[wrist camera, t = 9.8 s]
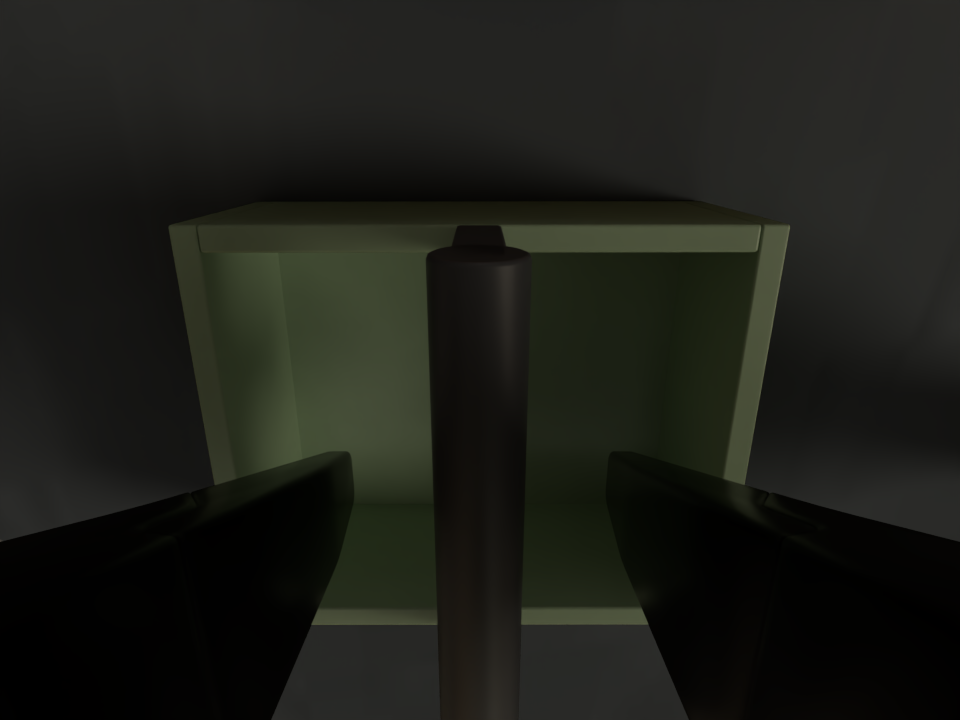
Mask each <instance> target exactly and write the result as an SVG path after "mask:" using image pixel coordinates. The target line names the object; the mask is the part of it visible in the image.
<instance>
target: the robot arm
mask: <svg viewBox="0 0 960 720" xmlns="http://www.w3.org/2000/svg"><path fill="white" fill-rule="evenodd" d="M353 503H354V480H353V468H352V458H351V455H350V453H349V452H348V451H328V452H325V453H322V454H318V455H315V456H311V457H308V458H305V459H301V460H298V461H295V462H291V463H288V464H284V465H281V466H278V467H274V468H271V469H268V470H264V471H261V472H258V473H254V474H251V475H247V476H244V477H241V478H237V479H234V480H231V481H227V482H224V483H220V484H217V485H214V486H210V487H207V488H204V489H200V490H197V491H194V492H192V493H191V494H190V493H184V494H181V495H177V496H174V497H170V498H167V499H163V500H160V501H156V502H153V503H149V504H146V505H142V506H138V507H135V508H131V509H127V510H123V511H120V512H116V513H112V514H108V515H105V516H101V517H97V518H93V519H89V520H85V521H81V522H77V523H73V524H69V525H65V526H61V527H57V528H53V529H49V530H45V531H41V532H37V533H34V534H30V535H26V536H22V537H18V538H14V539H10V540H6V541H2V542H0V720H271V719H272V716H273V714H274V712H275V709H276V707H277V705H278V702H279V700H280V697H281V695H282V693H283V690H284V688H285V686H286V683H287V681H288V679H289V676H290V674H291V672H292V669H293V667H294V665H295V662H296V660H297V657H298V655H299V653H300V650H301V648H302V646H303V643H304V641H305V639H306V636H307V634H308V632H309V629H310V627H311V624H312V622H313V620H314V617H315V615H316V613H317V610H318V608H319V606H320V603H321V601H322V599H323V596H324V594H325V592H326V589H327V587H328V584H329V582H330V580H331V577H332V575H333V573H334V570H335V568H336V565H337V563H338V560H339V557H340V553H341V550H342V546H343V542H344V538H345V535H346V531H347V527H348V523H349V519H350V515H351V511H352V507H353ZM606 503H607V507H608V511H609V515H610V519H611V523H612V527H613V531H614V534H615V538H616V542H617V546H618V550H619V553H620V557H621V560H622V563H623V565H624V568H625V570H626V573H627V575H628V577H629V580H630V582H631V584H632V587H633V589H634V591H635V594H636V596H637V599H638V601H639V603H640V606H641V608H642V610H643V613H644V615H645V617H646V620H647V622H648V624H649V627H650V629H651V631H652V634H653V636H654V639H655V641H656V643H657V646H658V648H659V650H660V653H661V655H662V657H663V660H664V662H665V664H666V667H667V669H668V671H669V674H670V676H671V679H672V681H673V683H674V686H675V688H676V690H677V693H678V695H679V697H680V700H681V702H682V704H683V707H684V709H685V712H686V714H687V716H688V719H689V720H960V542H958V541H954V540H950V539H946V538H942V537H938V536H934V535H930V534H927V533H923V532H919V531H915V530H911V529H907V528H903V527H899V526H895V525H891V524H887V523H883V522H879V521H875V520H871V519H867V518H863V517H859V516H856V515H852V514H848V513H844V512H840V511H837V510H833V509H829V508H825V507H822V506H818V505H814V504H811V503H807V502H804V501H800V500H797V499H793V498H790V497H786V496H783V495H779V494H776V493H770V494H769V493H768V492H766V491H763V490H760V489H756V488H753V487H750V486H746V485H743V484H740V483H736V482H733V481H729V480H726V479H723V478H719V477H716V476H713V475H709V474H706V473H702V472H699V471H696V470H692V469H689V468H686V467H682V466H679V465H676V464H672V463H669V462H665V461H662V460H659V459H655V458H652V457H649V456H645V455H642V454H638V453H635V452H632V451H612V452H611V453H610V455H609V458H608V468H607V480H606Z"/></svg>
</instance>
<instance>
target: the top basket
mask: <svg viewBox="0 0 960 720" xmlns="http://www.w3.org/2000/svg"><path fill="white" fill-rule="evenodd" d="M789 230H790V225H788V224H785V223H781V222H778V221H774V220H770V219H766V218H762V217H759V216H755V215H751V214H747V213H743V212H740V211H736V210H732V209H728V208H724V207H721V206H717V205H713V204H709V203H705V202H701V201H356V202H255V203H251V204H248V205H244V206H240V207H236V208H232V209H229V210H225V211H221V212H217V213H213V214H210V215H206V216H202V217H198V218H194V219H191V220H187V221H183V222H179V223H175V224H172V225H169V234H170V239H171V245H172V250H173V256H174V262H175V267H176V273H177V278H178V284H179V289H180V295H181V301H182V306H183V312H184V317H185V323H186V328H187V334H188V339H189V345H190V351H191V356H192V362H193V367H194V373H195V378H196V384H197V390H198V395H199V401H200V406H201V412H202V417H203V423H204V428H205V434H206V440H207V445H208V451H209V456H210V462H211V467H212V473H213V479H214V484H215V485H217V484H220V483H224V482H227V481H231V480H234V479H237V478H241V477H244V476H247V475H251V474H254V473H258V472H261V471H264V470H268V469H271V468H274V467H278V466H281V465H284V464H288V463H291V462H295V461H298V460H301V459H305V458H308V457H311V456H315V455H318V454H322V453H325V452H328V451H348V452H349V453H350V455H351V458H352V468H353V480H354V503H353V507H352V511H351V515H350V519H349V523H348V527H347V531H346V535H345V538H344V542H343V546H342V550H341V553H340V557H339V560H338V563H337V565H336V568H335V570H334V573H333V575H332V577H331V580H330V582H329V584H328V587H327V589H326V592H325V594H324V596H323V599H322V601H321V603H320V606H319V608H318V610H317V613H316V615H315V617H314V620H313V622H312V624H311V625H399V624H438V654H439V685H440V716H441V720H518V717H519V683H520V649H521V624H648V622H647V620H646V617H645V615H644V613H643V610H642V608H641V606H640V603H639V601H638V599H637V596H636V594H635V591H634V589H633V587H632V584H631V582H630V580H629V577H628V575H627V573H626V570H625V568H624V565H623V563H622V560H621V557H620V553H619V550H618V546H617V542H616V538H615V534H614V531H613V527H612V523H611V519H610V515H609V511H608V507H607V503H606V480H607V468H608V458H609V455H610V453H611V452H612V451H632V452H635V453H638V454H642V455H645V456H649V457H652V458H655V459H659V460H662V461H665V462H669V463H672V464H676V465H679V466H682V467H686V468H689V469H692V470H696V471H699V472H702V473H706V474H709V475H713V476H716V477H719V478H723V479H726V480H729V481H733V482H736V483H740V484H743V485H744V484H745V479H746V473H747V467H748V462H749V456H750V450H751V445H752V439H753V433H754V428H755V422H756V416H757V411H758V405H759V399H760V394H761V388H762V383H763V377H764V371H765V366H766V360H767V354H768V349H769V343H770V337H771V332H772V326H773V320H774V315H775V309H776V303H777V298H778V292H779V287H780V281H781V275H782V270H783V264H784V258H785V253H786V247H787V241H788V236H789Z"/></svg>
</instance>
